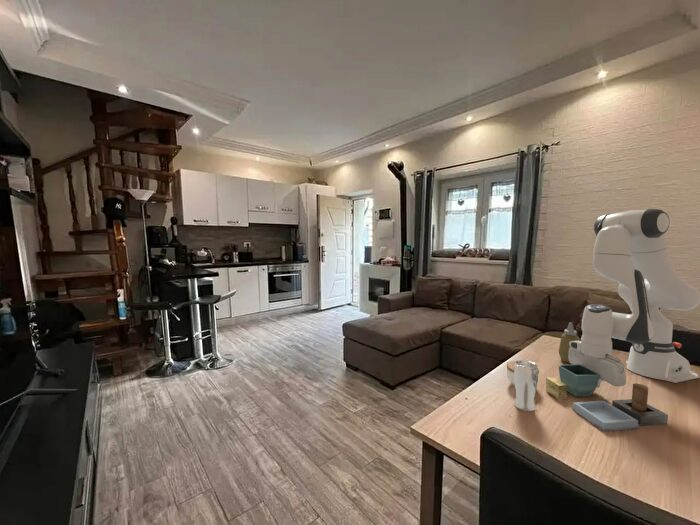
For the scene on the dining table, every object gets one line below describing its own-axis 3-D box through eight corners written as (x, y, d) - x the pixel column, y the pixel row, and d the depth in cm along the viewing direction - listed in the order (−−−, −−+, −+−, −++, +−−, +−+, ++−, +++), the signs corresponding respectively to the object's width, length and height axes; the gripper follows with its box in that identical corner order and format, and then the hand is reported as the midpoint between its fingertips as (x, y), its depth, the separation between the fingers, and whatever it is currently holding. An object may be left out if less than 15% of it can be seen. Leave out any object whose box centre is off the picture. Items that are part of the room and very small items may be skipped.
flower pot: (578, 386, 114) (580, 363, 113) (599, 399, 105) (600, 374, 104) (556, 387, 113) (557, 364, 112) (575, 400, 104) (576, 375, 104)
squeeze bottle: (577, 359, 138) (579, 321, 137) (582, 366, 131) (584, 326, 130) (556, 356, 142) (558, 319, 140) (560, 363, 134) (562, 324, 133)
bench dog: (553, 389, 111) (553, 377, 111) (566, 398, 106) (566, 385, 105) (545, 390, 111) (546, 377, 111) (558, 399, 105) (558, 385, 105)
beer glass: (533, 402, 103) (535, 361, 102) (539, 414, 97) (540, 369, 95) (511, 399, 106) (512, 358, 104) (515, 410, 99) (516, 366, 98)
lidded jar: (538, 396, 107) (539, 371, 106) (504, 388, 113) (505, 364, 112) (538, 383, 116) (539, 360, 116) (507, 377, 122) (508, 355, 121)
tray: (603, 407, 100) (603, 400, 99) (637, 428, 89) (638, 420, 89) (572, 409, 99) (573, 402, 99) (603, 431, 88) (604, 423, 88)
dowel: (637, 412, 97) (639, 383, 96) (649, 419, 93) (651, 388, 92) (627, 413, 96) (629, 383, 95) (639, 420, 93) (641, 389, 92)
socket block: (636, 407, 100) (637, 398, 99) (667, 424, 91) (668, 414, 90) (611, 409, 99) (612, 400, 99) (640, 426, 90) (641, 416, 90)
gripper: (633, 360, 98) (630, 400, 99) (580, 339, 119) (579, 372, 120) (615, 361, 98) (613, 401, 99) (565, 340, 118) (564, 373, 119)
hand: (594, 385), depth 110 cm, fingers closed
